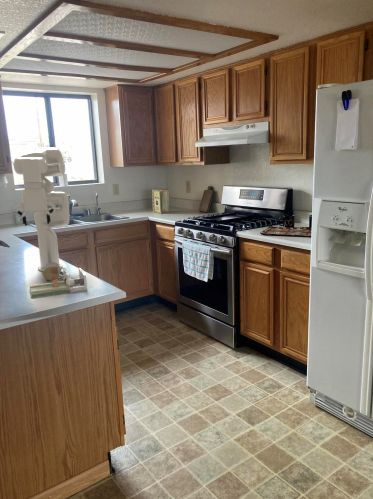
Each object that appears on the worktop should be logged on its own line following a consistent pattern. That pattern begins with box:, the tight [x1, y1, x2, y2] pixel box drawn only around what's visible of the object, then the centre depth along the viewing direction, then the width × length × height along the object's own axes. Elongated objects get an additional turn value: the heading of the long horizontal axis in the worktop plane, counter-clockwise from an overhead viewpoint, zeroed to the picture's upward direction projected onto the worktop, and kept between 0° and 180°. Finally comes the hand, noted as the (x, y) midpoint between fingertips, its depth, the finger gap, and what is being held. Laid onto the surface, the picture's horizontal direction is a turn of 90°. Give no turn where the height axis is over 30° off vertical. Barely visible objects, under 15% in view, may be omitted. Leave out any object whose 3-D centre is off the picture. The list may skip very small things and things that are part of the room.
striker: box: [50, 265, 60, 288], centre depth 180 cm, size 6×3×9 cm, turn 23°
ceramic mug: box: [42, 262, 67, 282], centre depth 198 cm, size 11×8×8 cm
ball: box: [66, 278, 75, 287], centre depth 183 cm, size 4×4×4 cm
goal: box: [62, 267, 88, 294], centre depth 183 cm, size 14×8×8 cm, turn 23°
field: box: [29, 280, 69, 299], centre depth 180 cm, size 13×15×2 cm
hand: (37, 224), depth 185 cm, fingers open, 9 cm apart
